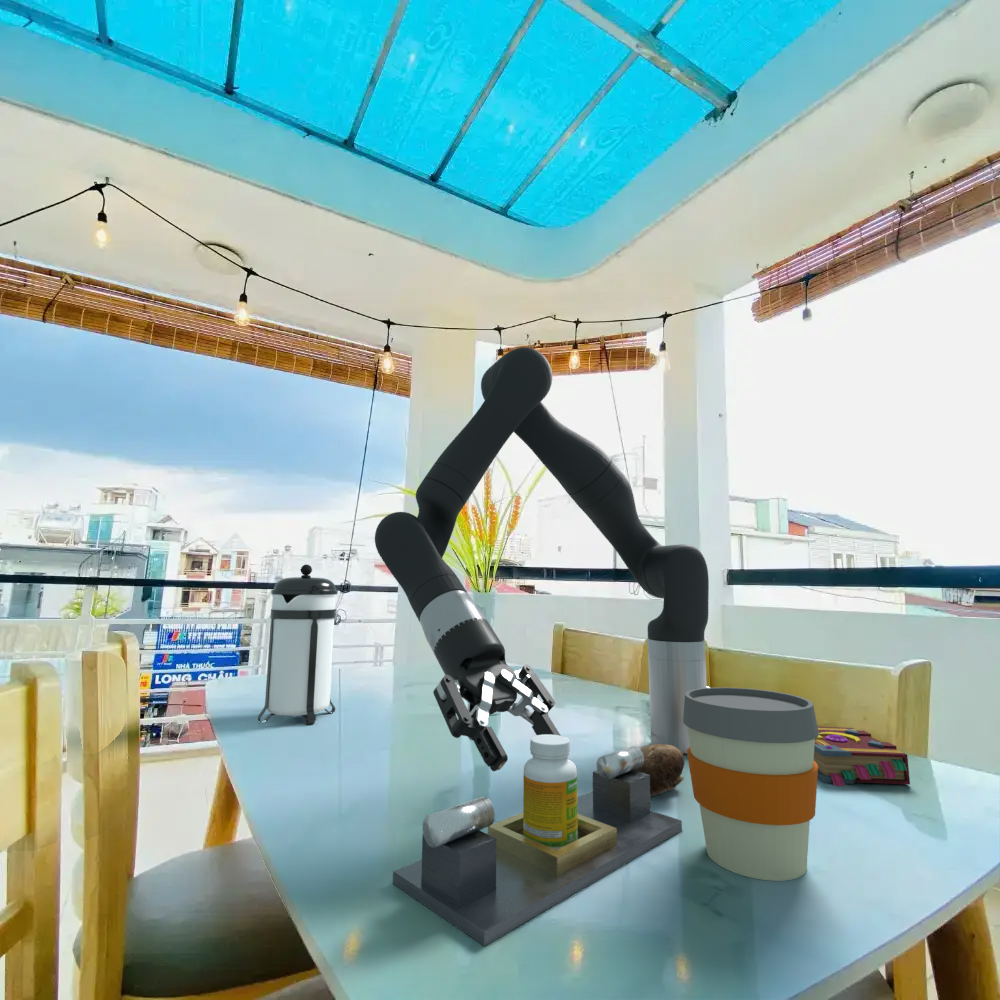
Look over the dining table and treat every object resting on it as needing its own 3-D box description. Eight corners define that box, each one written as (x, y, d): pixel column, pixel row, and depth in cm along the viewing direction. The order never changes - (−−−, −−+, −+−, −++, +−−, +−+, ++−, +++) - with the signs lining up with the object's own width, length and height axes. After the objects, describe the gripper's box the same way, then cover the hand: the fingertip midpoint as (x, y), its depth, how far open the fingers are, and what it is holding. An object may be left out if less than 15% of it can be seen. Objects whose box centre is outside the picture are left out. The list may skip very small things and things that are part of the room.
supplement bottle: (575, 857, 53) (574, 748, 54) (518, 851, 54) (519, 744, 55) (579, 833, 58) (578, 733, 59) (527, 828, 59) (527, 730, 60)
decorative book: (855, 755, 90) (853, 723, 91) (918, 792, 74) (915, 752, 75) (781, 753, 91) (779, 720, 92) (827, 788, 75) (824, 748, 76)
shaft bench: (594, 798, 70) (593, 736, 71) (684, 829, 62) (681, 757, 63) (387, 885, 50) (391, 795, 51) (479, 949, 41) (480, 839, 42)
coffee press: (352, 719, 110) (359, 564, 114) (266, 730, 101) (277, 562, 105) (325, 703, 124) (332, 566, 129) (247, 712, 115) (257, 564, 120)
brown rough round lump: (699, 760, 75) (672, 722, 75) (701, 804, 68) (671, 762, 68) (648, 780, 79) (622, 744, 78) (644, 824, 71) (616, 785, 71)
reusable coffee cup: (855, 867, 53) (842, 702, 56) (779, 907, 47) (768, 717, 49) (737, 820, 64) (730, 683, 66) (661, 847, 57) (656, 693, 59)
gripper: (427, 617, 62) (499, 749, 52) (517, 614, 72) (591, 724, 62) (398, 662, 65) (461, 795, 55) (488, 653, 75) (555, 764, 65)
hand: (530, 757), depth 59 cm, fingers open, 8 cm apart
